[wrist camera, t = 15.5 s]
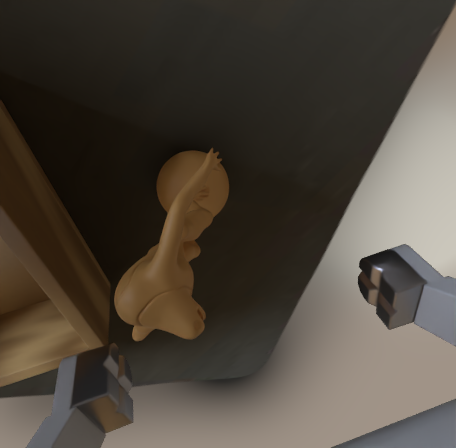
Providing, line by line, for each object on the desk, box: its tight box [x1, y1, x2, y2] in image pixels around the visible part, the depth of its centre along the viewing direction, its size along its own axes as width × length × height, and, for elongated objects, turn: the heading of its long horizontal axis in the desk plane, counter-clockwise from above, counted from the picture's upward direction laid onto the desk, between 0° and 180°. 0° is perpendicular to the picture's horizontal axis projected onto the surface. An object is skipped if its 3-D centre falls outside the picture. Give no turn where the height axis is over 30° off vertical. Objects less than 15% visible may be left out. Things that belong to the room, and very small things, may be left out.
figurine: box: [114, 148, 229, 341], centre depth 15 cm, size 8×6×12 cm
